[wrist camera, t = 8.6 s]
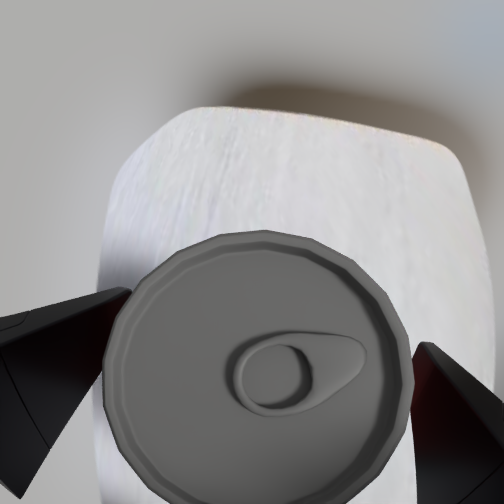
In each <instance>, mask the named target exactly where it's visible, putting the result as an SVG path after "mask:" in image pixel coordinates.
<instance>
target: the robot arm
mask: <svg viewBox="0 0 504 504" xmlns="http://www.w3.org/2000/svg"><path fill="white" fill-rule="evenodd" d="M131 294H132V290H131V289H128V288H124V287H117V288H113V289H109V290H105V291H101V292H98V293H94V294H90V295H86V296H82V297H79V298H75V299H71V300H67V301H63V302H60V303H56V304H52V305H48V306H45V307H41V308H37V309H33V310H31V311H25V312H21V313H18V314H14V315H9V316H5V317H0V484H2V485H3V486H4V487H5V488H6V489H7V490H9V491H10V492H11V493H12V494H14V495H15V496H16V497H17V498H19V499H21V498H22V497H23V495H24V493H25V492H26V490H27V488H28V487H29V485H30V483H31V481H32V480H33V478H34V476H35V474H36V473H37V471H38V469H39V468H40V466H41V465H42V463H43V461H44V460H45V458H46V456H47V455H48V453H49V451H50V449H51V448H52V446H53V445H54V443H55V441H56V440H57V438H58V437H59V435H60V433H61V432H62V430H63V429H64V427H65V425H66V424H67V423H68V421H69V420H70V418H71V416H72V415H73V413H74V412H75V410H76V409H77V407H78V406H79V404H80V402H81V401H82V400H83V398H84V396H85V395H86V394H87V392H88V391H89V389H90V388H91V386H92V385H93V383H94V382H95V380H96V379H97V377H98V376H99V374H100V373H101V371H102V360H103V356H104V353H105V350H106V346H107V343H108V340H109V336H110V333H111V330H112V327H113V324H114V321H115V318H116V316H117V314H118V313H119V311H120V310H121V308H122V307H123V305H124V304H125V303H126V301H127V300H128V298H129V297H130V295H131ZM412 365H413V373H414V381H415V385H414V391H413V396H412V402H411V407H410V413H411V423H412V432H413V441H414V453H415V466H416V484H417V504H504V403H502V401H501V400H500V399H499V398H498V397H497V396H496V395H494V394H493V393H492V392H491V391H490V390H489V389H488V388H486V387H485V386H484V385H483V384H482V383H481V382H479V381H478V380H477V379H476V378H475V377H473V376H472V375H471V374H470V373H469V372H468V371H466V370H465V369H464V368H463V367H462V366H460V365H459V364H458V363H457V362H456V361H454V360H453V359H452V358H451V357H450V356H448V355H447V354H446V353H445V352H444V351H442V350H441V349H440V348H439V347H437V346H436V345H435V344H434V343H432V342H420V343H419V345H418V346H417V349H416V351H415V353H414V356H413V358H412Z"/></svg>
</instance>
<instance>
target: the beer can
mask: <svg viewBox="0 0 504 504" xmlns="http://www.w3.org/2000/svg"><path fill="white" fill-rule="evenodd" d="M414 385H415V381H414V373H413V365H412V358H411V351H410V345H409V338H408V335H407V333H406V330H405V328H404V326H403V324H402V322H401V320H400V318H399V316H398V314H397V312H396V311H395V309H394V307H393V305H392V303H391V301H390V299H389V297H388V295H387V293H386V292H385V291H384V290H383V289H382V288H381V287H380V286H379V285H378V284H377V283H376V282H375V281H374V280H373V279H372V278H371V277H370V276H369V275H368V274H367V273H366V272H365V271H364V270H363V269H362V268H361V267H360V266H359V265H358V264H357V263H356V262H355V261H354V260H352V259H350V258H348V257H346V256H344V255H343V254H341V253H339V252H337V251H335V250H333V249H331V248H329V247H327V246H325V245H323V244H321V243H319V242H318V241H316V240H314V239H312V238H307V237H301V236H296V235H291V234H286V233H280V232H275V231H270V230H258V231H248V232H238V233H228V234H219V235H217V236H214V237H212V238H209V239H207V240H204V241H202V242H199V243H197V244H194V245H192V246H189V247H187V248H184V249H182V250H179V251H177V252H176V253H174V254H173V255H172V256H171V257H169V258H168V259H167V260H166V261H164V262H163V263H162V264H160V265H159V266H158V267H157V268H155V269H154V270H153V271H152V272H150V273H149V274H148V275H147V276H145V277H144V278H143V279H142V280H141V281H140V282H139V284H138V285H137V287H136V288H135V290H134V291H133V292H132V294H131V295H130V297H129V298H128V300H127V301H126V303H125V304H124V305H123V307H122V308H121V310H120V311H119V313H118V314H117V316H116V318H115V321H114V324H113V327H112V330H111V333H110V336H109V340H108V343H107V346H106V350H105V353H104V356H103V360H102V386H103V407H104V410H105V414H106V417H107V420H108V422H109V425H110V428H111V431H112V434H113V437H114V439H115V442H116V445H117V447H118V450H119V452H120V453H121V454H122V456H123V457H124V458H125V460H126V461H127V462H128V464H129V465H130V466H131V468H132V469H133V470H134V472H135V473H136V474H137V475H138V477H139V478H140V479H141V480H142V482H143V483H144V484H145V485H146V486H147V488H148V489H150V490H151V491H152V492H154V493H155V494H157V495H158V496H159V497H161V498H162V499H164V500H165V501H167V502H168V503H170V504H346V503H347V502H349V501H350V500H351V499H352V498H354V497H355V496H356V495H357V494H358V493H360V492H361V491H362V490H363V489H364V488H365V487H367V486H368V485H369V484H370V483H371V482H372V481H373V480H374V479H376V478H377V477H378V476H379V475H380V473H381V472H382V470H383V469H384V467H385V465H386V464H387V462H388V461H389V459H390V457H391V456H392V454H393V452H394V451H395V449H396V447H397V445H398V444H399V442H400V440H401V438H402V436H403V435H404V433H405V430H406V426H407V421H408V417H409V412H410V407H411V402H412V396H413V391H414Z"/></svg>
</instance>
